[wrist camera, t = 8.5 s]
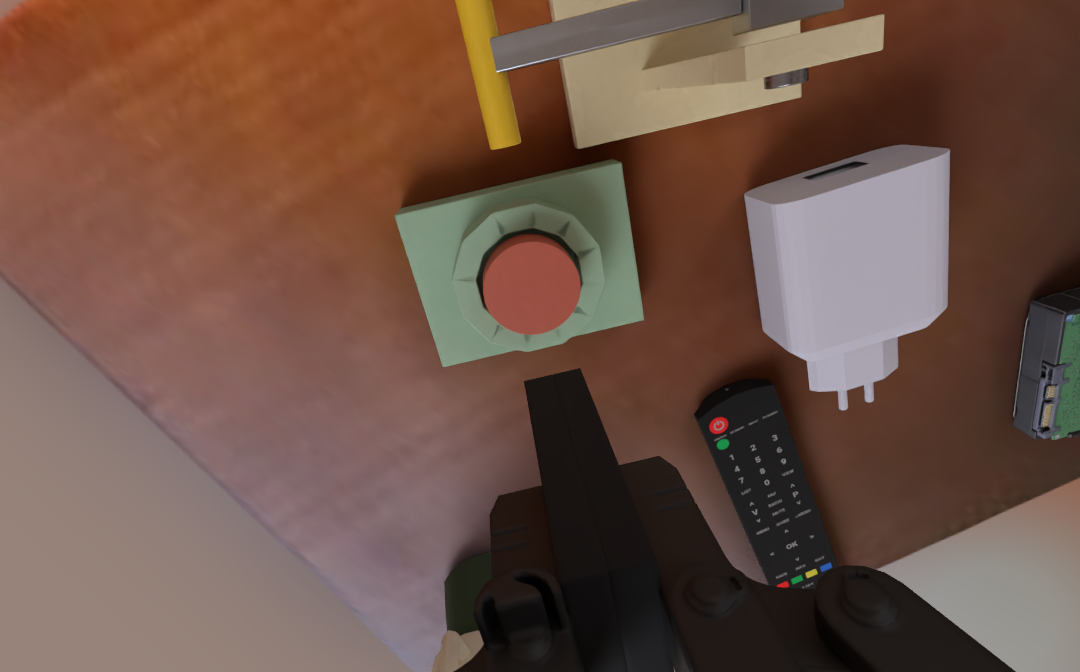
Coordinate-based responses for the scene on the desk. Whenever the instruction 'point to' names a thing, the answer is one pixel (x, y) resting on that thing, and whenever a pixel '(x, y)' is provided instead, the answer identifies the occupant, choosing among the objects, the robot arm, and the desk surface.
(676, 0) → the t-handle lever
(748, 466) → the remote control
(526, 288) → the button
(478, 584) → the character mug
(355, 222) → the desk surface
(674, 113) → the bracket
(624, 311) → the button box
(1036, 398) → the disk drive
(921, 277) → the charger
